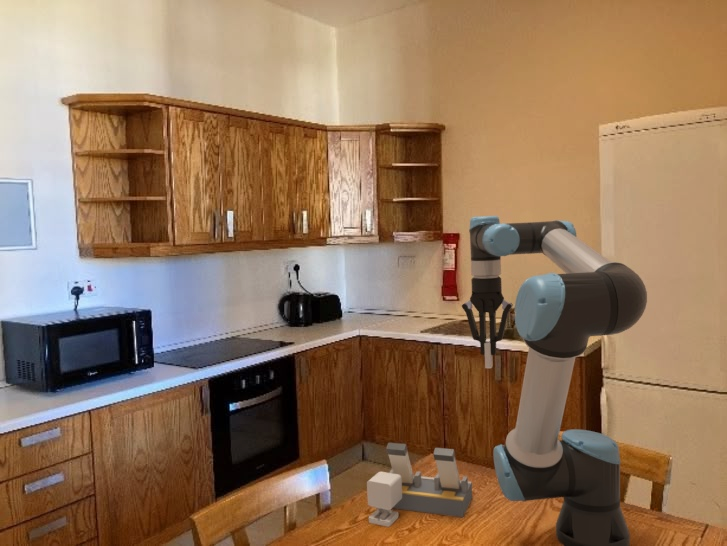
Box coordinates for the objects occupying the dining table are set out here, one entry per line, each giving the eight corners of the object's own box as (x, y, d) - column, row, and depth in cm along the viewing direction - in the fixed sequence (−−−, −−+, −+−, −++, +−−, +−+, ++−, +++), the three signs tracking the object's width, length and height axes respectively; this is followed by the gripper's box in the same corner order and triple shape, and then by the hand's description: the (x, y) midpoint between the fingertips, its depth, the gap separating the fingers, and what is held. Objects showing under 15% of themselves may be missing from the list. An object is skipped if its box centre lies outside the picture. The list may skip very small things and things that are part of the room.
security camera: (403, 514, 152) (401, 474, 152) (390, 527, 146) (388, 486, 145) (379, 509, 155) (378, 470, 155) (366, 522, 149) (364, 481, 148)
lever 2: (462, 485, 156) (455, 449, 149) (461, 492, 154) (453, 456, 147) (442, 483, 158) (433, 447, 151) (440, 489, 156) (432, 454, 149)
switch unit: (472, 497, 160) (471, 470, 159) (463, 517, 149) (462, 488, 149) (397, 488, 167) (396, 462, 166) (384, 507, 157) (382, 479, 156)
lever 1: (416, 480, 160) (407, 444, 153) (414, 486, 159) (405, 450, 152) (396, 478, 162) (387, 442, 155) (394, 484, 160) (384, 448, 154)
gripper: (514, 274, 161) (516, 364, 163) (464, 275, 166) (467, 362, 168) (509, 277, 154) (512, 371, 156) (457, 278, 159) (461, 369, 161)
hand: (488, 367), depth 162 cm, fingers closed
